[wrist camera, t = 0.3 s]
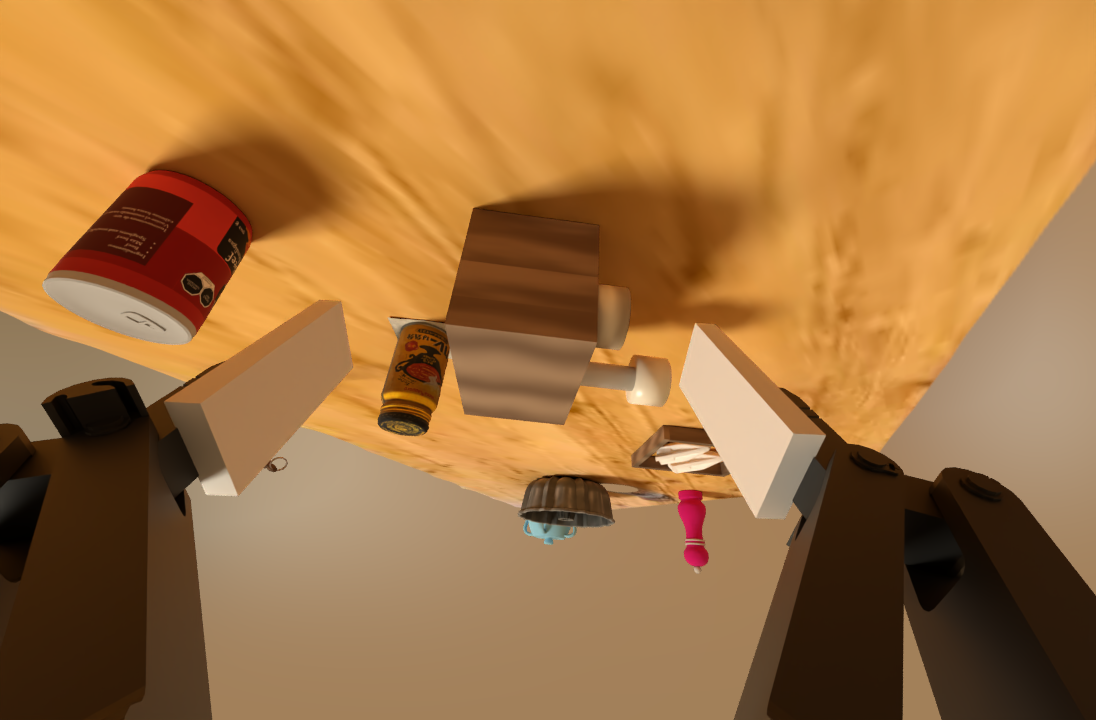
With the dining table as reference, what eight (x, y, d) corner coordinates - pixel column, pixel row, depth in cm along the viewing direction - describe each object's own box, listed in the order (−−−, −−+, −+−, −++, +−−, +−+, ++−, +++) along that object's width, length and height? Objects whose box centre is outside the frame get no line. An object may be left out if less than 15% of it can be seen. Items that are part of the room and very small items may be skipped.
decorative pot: (556, 507, 150) (554, 547, 144) (520, 501, 143) (516, 542, 136) (583, 503, 138) (582, 546, 132) (544, 495, 131) (541, 540, 124)
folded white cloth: (671, 457, 84) (727, 451, 79) (673, 476, 82) (730, 472, 77) (653, 439, 75) (714, 432, 70) (655, 461, 73) (718, 455, 68)
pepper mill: (698, 495, 113) (706, 574, 104) (673, 493, 113) (679, 572, 104) (707, 490, 107) (717, 574, 97) (681, 488, 107) (688, 571, 97)
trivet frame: (663, 425, 68) (664, 439, 66) (775, 437, 69) (778, 451, 67) (631, 455, 84) (631, 467, 83) (722, 464, 85) (723, 476, 84)
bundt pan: (515, 468, 102) (510, 508, 97) (618, 474, 99) (619, 516, 95) (526, 489, 125) (523, 523, 120) (610, 495, 122) (610, 529, 117)
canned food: (234, 255, 38) (172, 354, 33) (126, 193, 32) (29, 300, 27) (273, 224, 34) (209, 330, 29) (157, 147, 28) (51, 262, 23)
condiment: (452, 322, 45) (428, 421, 39) (460, 358, 53) (441, 446, 47) (388, 315, 45) (354, 414, 39) (405, 353, 52) (379, 440, 46)
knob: (513, 330, 37) (507, 375, 35) (672, 349, 38) (676, 395, 36) (512, 355, 41) (506, 397, 39) (655, 372, 42) (658, 414, 40)
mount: (473, 208, 31) (444, 324, 25) (632, 229, 32) (637, 347, 26) (481, 323, 45) (464, 414, 39) (592, 336, 45) (590, 427, 40)
